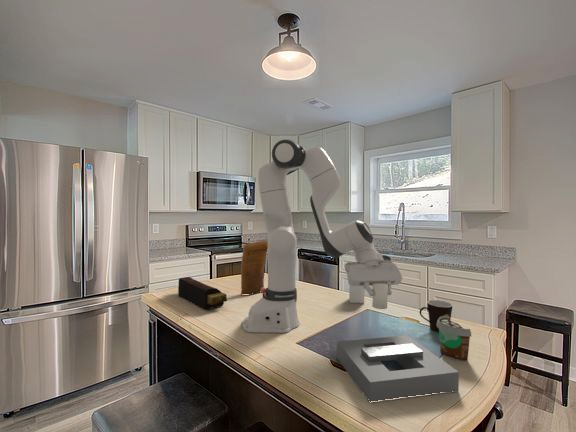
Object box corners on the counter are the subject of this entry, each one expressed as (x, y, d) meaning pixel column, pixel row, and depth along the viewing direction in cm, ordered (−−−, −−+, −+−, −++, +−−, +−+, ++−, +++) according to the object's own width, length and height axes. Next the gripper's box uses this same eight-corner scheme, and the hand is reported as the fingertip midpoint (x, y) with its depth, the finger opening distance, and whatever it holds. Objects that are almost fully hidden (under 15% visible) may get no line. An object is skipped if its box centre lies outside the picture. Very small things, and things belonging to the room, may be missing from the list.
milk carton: (364, 303, 144) (364, 264, 144) (349, 302, 146) (349, 264, 145) (363, 299, 151) (364, 262, 151) (349, 298, 153) (349, 261, 152)
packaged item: (228, 309, 136) (228, 287, 136) (209, 314, 129) (209, 291, 129) (192, 291, 165) (192, 273, 165) (174, 294, 158) (174, 275, 158)
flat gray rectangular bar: (369, 362, 79) (369, 356, 79) (361, 353, 84) (361, 348, 84) (423, 356, 82) (423, 351, 82) (412, 348, 87) (412, 343, 87)
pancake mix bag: (271, 290, 166) (271, 240, 165) (244, 298, 152) (244, 243, 152) (263, 288, 171) (263, 239, 170) (236, 295, 157) (236, 242, 156)
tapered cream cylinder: (376, 309, 102) (377, 286, 102) (369, 304, 107) (370, 282, 107) (389, 308, 103) (390, 285, 103) (382, 304, 108) (383, 282, 108)
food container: (428, 344, 101) (428, 315, 100) (445, 344, 101) (446, 315, 101) (451, 363, 88) (452, 330, 88) (470, 362, 89) (471, 329, 89)
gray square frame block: (370, 403, 70) (370, 382, 70) (336, 357, 92) (336, 341, 92) (458, 391, 75) (458, 371, 75) (407, 350, 96) (407, 335, 96)
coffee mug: (449, 326, 116) (450, 301, 116) (454, 335, 108) (454, 308, 108) (417, 322, 120) (417, 298, 120) (419, 331, 112) (419, 304, 112)
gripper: (345, 257, 109) (356, 291, 100) (396, 257, 113) (410, 289, 104) (340, 267, 114) (350, 300, 105) (389, 266, 118) (403, 298, 109)
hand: (381, 294), depth 104 cm, fingers closed on tapered cream cylinder, 5 cm apart
